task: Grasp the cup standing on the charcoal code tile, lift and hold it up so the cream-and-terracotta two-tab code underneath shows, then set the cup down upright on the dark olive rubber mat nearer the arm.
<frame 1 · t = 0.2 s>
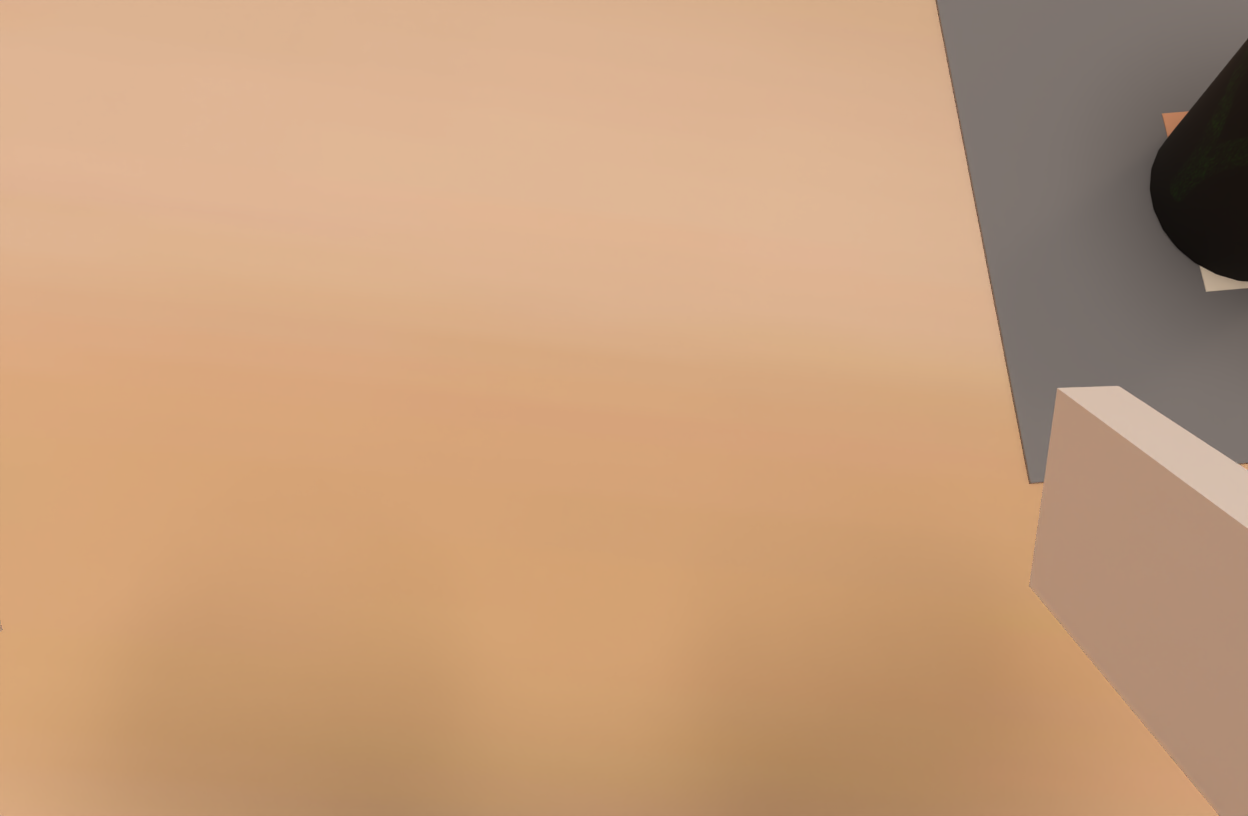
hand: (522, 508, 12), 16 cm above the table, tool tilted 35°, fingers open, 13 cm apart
cup: (1238, 198, 31), resting on code tile
code tile: (1241, 196, 31), on the table
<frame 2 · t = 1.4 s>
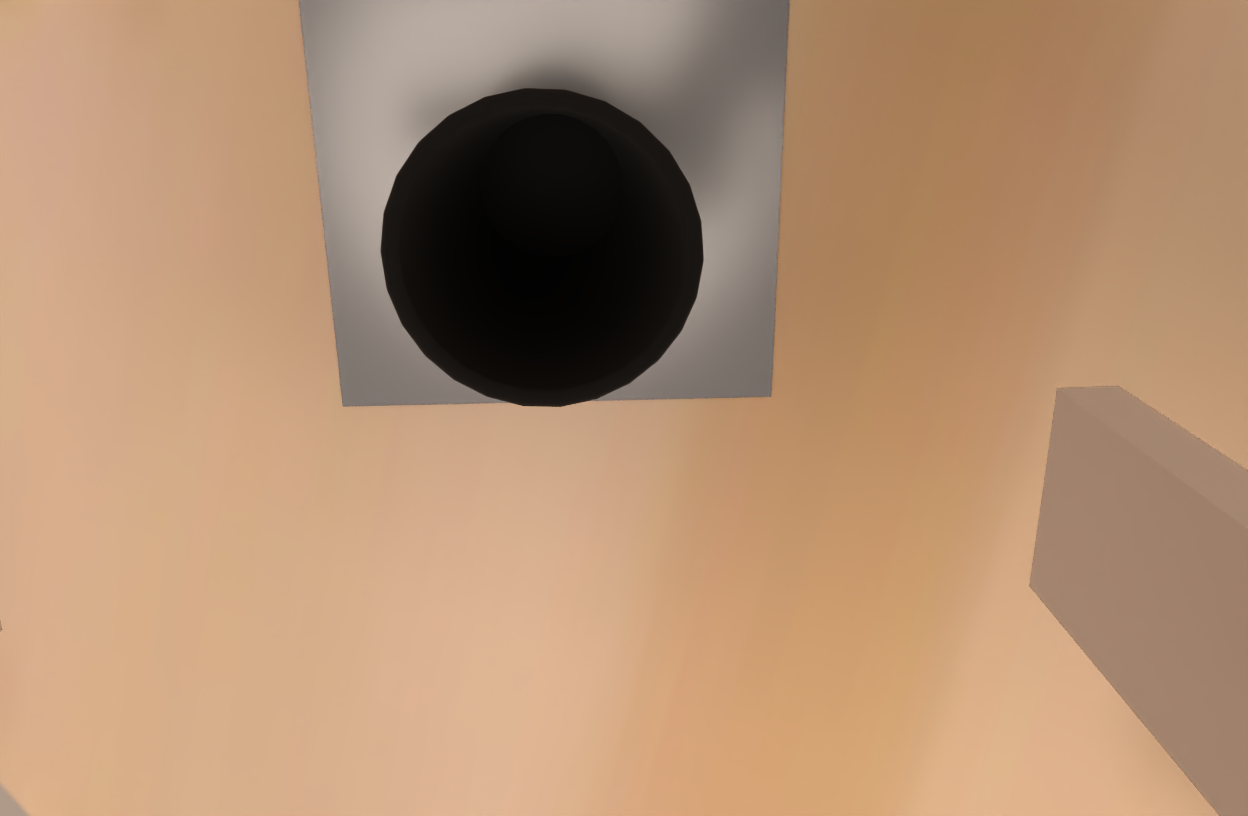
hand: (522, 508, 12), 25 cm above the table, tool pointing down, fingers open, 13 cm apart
cup: (552, 184, 36), resting on code tile
code tile: (552, 184, 36), on the table
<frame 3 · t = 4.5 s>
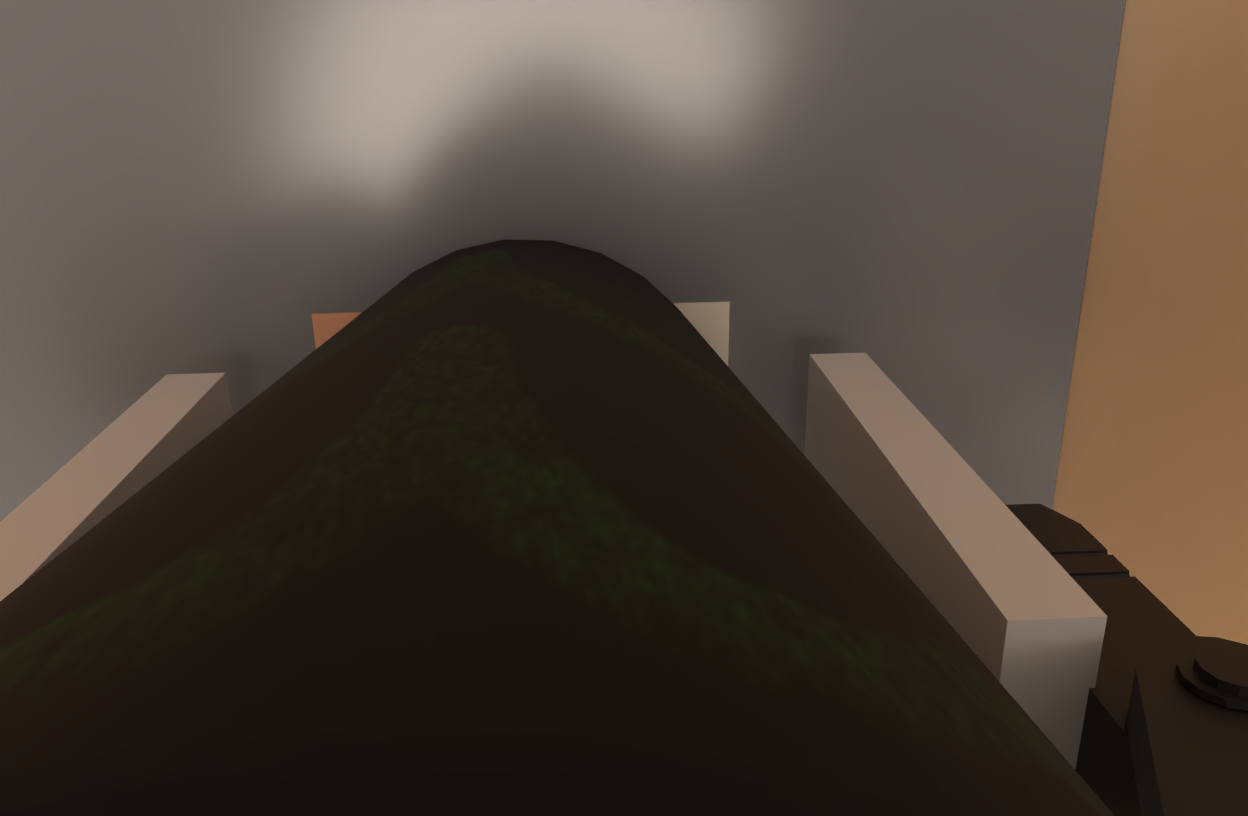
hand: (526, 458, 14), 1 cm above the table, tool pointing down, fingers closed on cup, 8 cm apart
cup: (529, 423, 15), resting on code tile, touching gripper
code tile: (528, 426, 15), on the table
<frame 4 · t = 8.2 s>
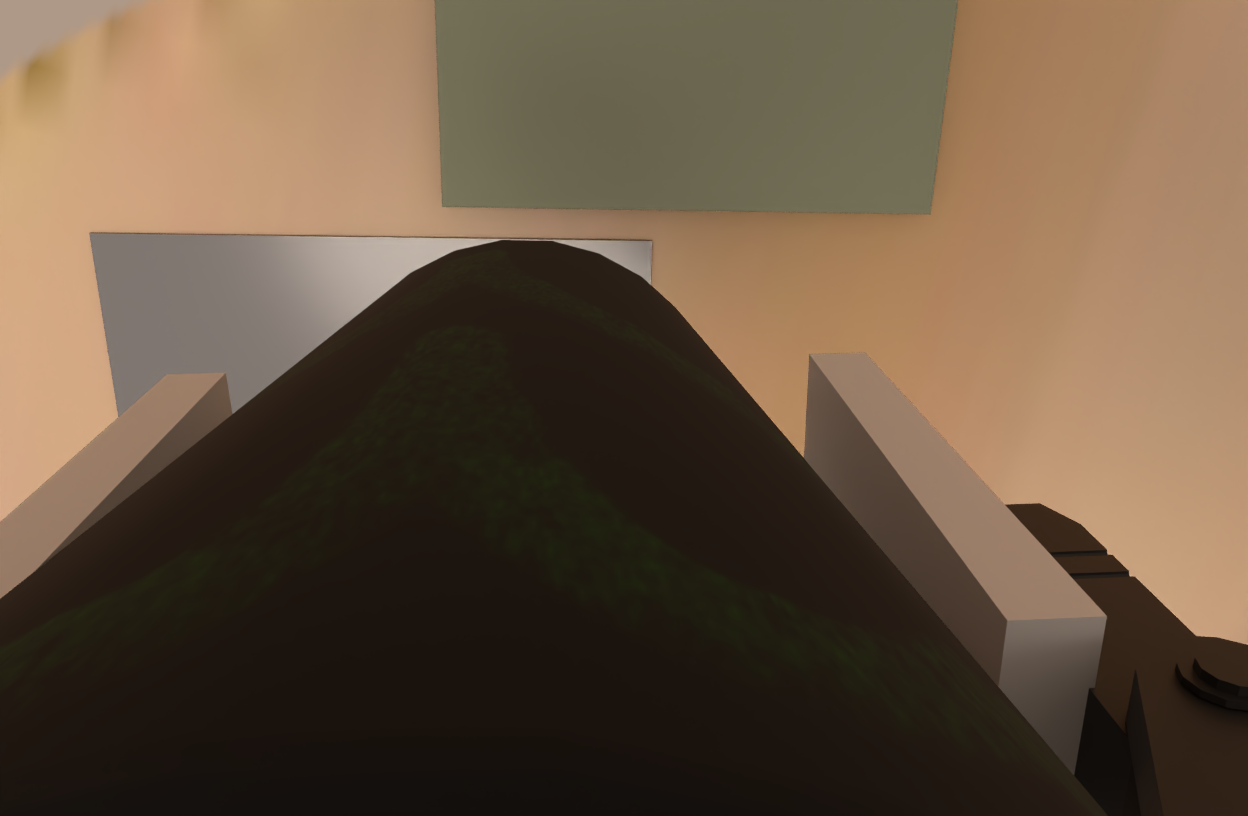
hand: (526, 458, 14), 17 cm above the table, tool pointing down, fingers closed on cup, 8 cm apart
cup: (527, 423, 15), point 16 cm above the table, touching gripper
code tile: (391, 488, 32), on the table
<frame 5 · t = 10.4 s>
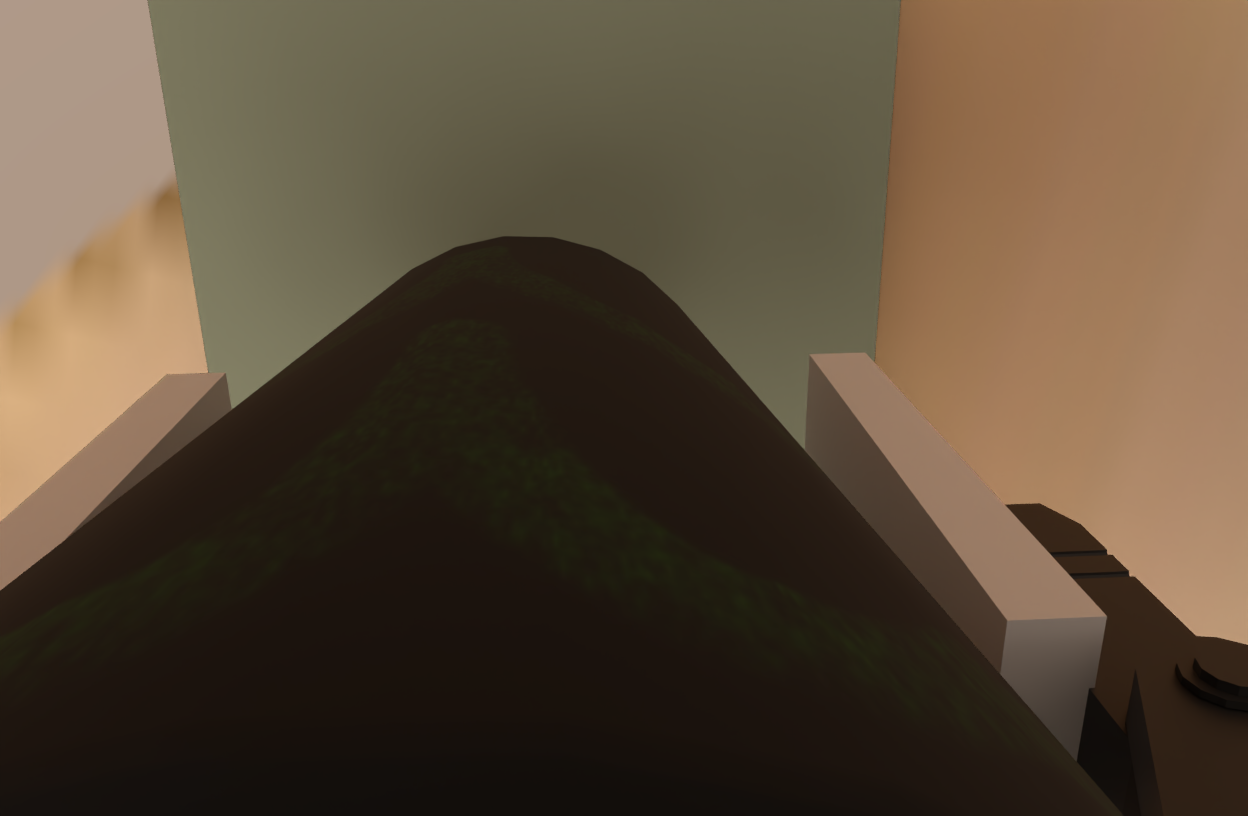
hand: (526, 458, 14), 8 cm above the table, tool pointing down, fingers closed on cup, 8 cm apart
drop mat: (545, 309, 22), on the table
cup: (529, 420, 15), point 7 cm above the table, touching gripper
when the fingers open (3 cm above the table, at t = 12.2 s): cup drops 1 cm, resting on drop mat.
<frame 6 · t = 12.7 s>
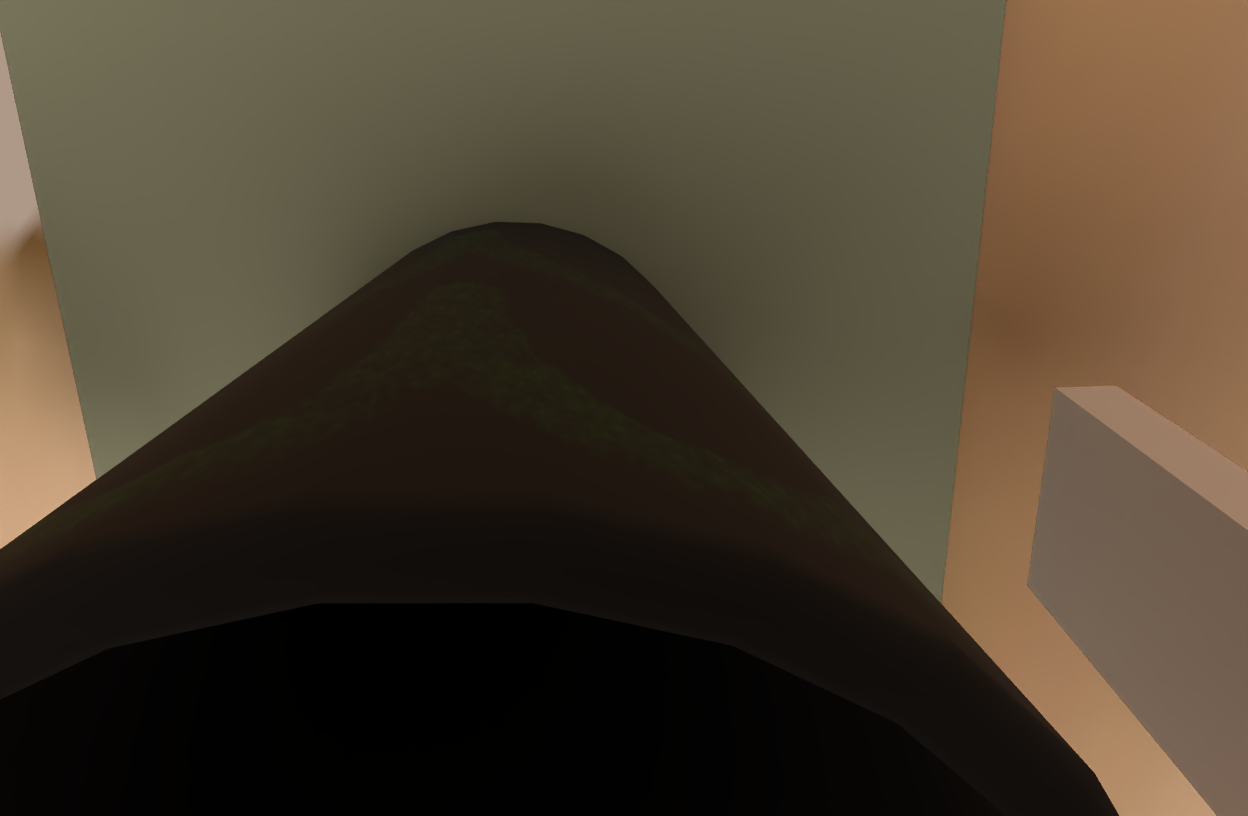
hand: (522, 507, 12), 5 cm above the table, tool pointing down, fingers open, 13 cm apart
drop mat: (533, 381, 17), on the table
cup: (517, 392, 16), resting on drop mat
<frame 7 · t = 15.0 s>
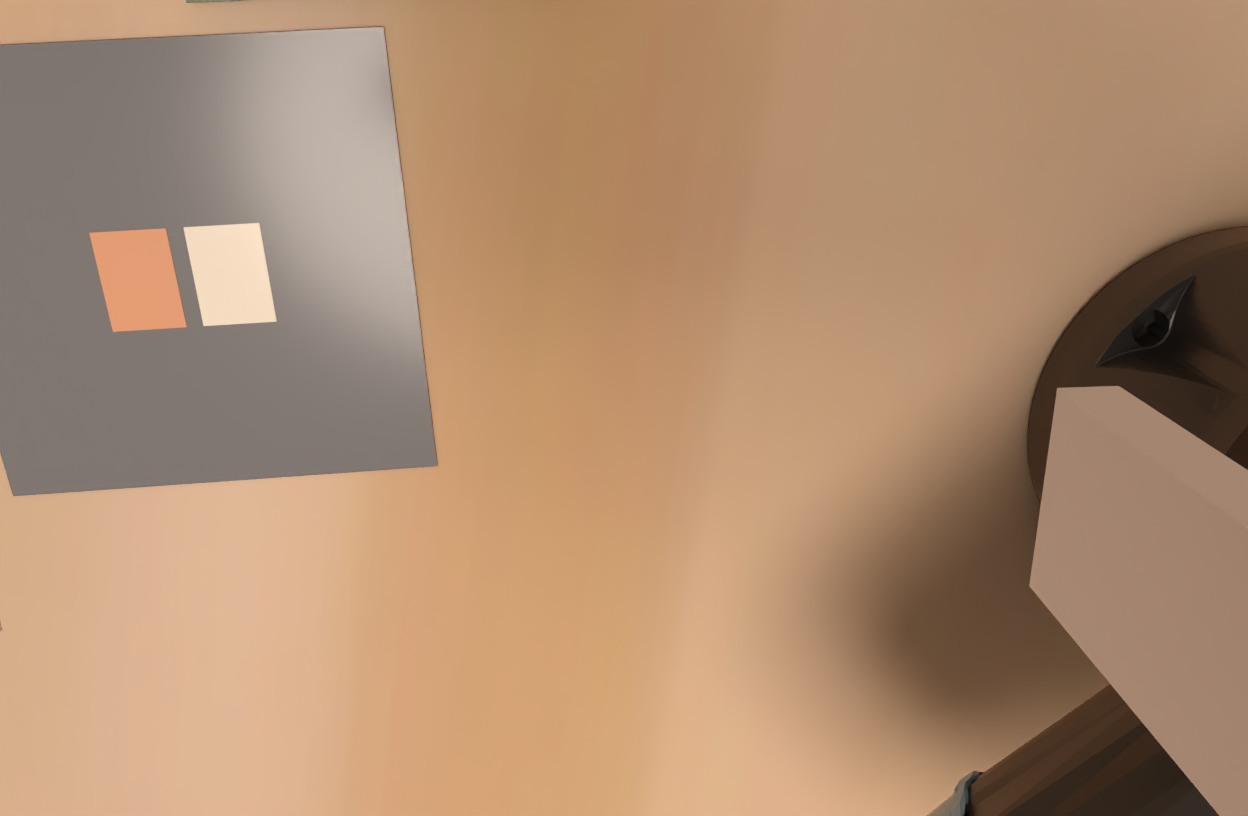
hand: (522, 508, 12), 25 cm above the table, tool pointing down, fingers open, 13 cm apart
code tile: (185, 277, 36), on the table
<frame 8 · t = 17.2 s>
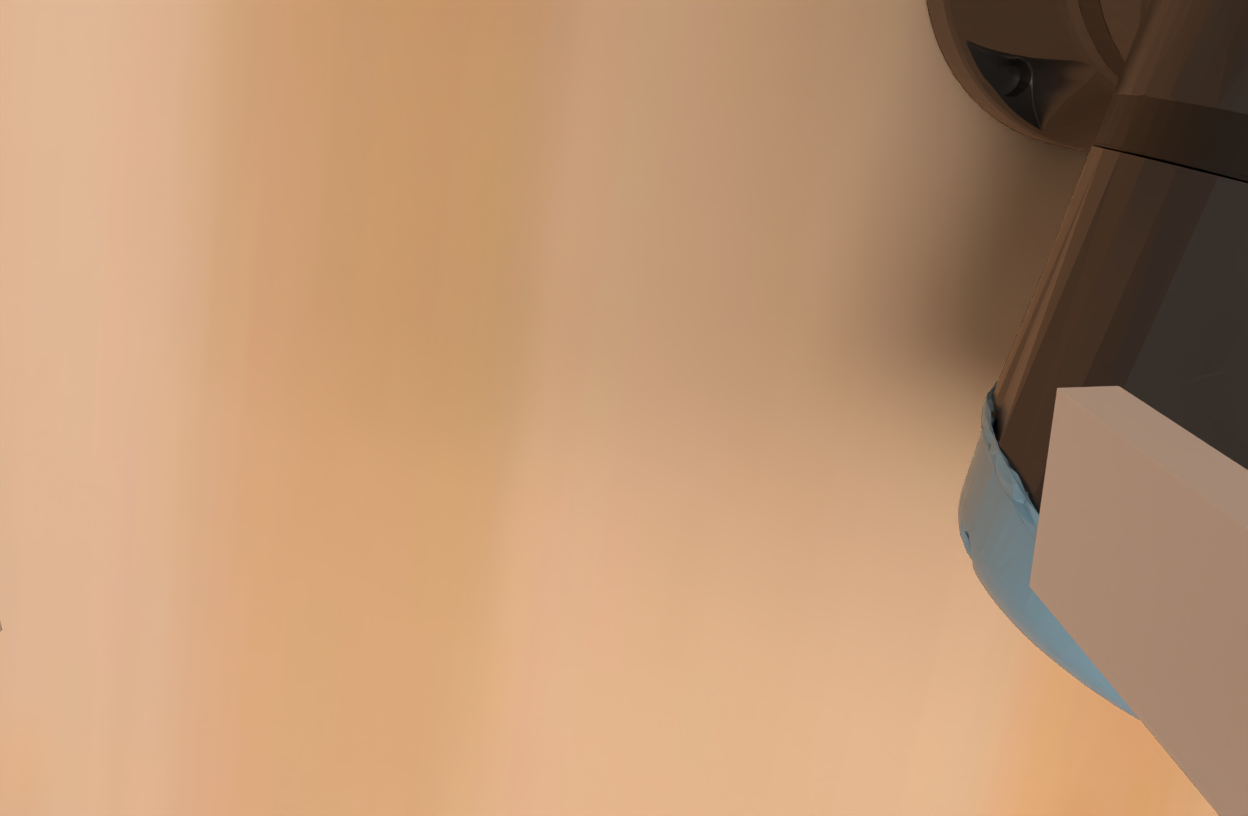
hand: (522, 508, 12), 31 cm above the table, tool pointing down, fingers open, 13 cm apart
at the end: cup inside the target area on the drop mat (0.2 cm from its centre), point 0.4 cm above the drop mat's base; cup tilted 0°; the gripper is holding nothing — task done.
